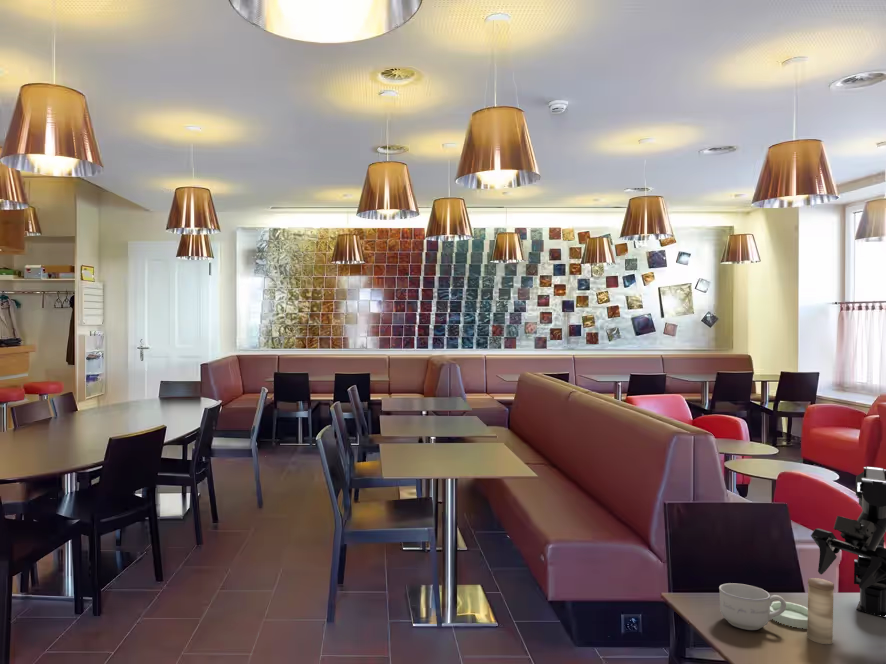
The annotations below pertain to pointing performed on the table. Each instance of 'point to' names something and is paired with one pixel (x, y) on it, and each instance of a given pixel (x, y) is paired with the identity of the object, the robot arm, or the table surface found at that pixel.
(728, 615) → the teacup
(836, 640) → the table surface
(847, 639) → the table surface
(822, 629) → the canister
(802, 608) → the bowl
